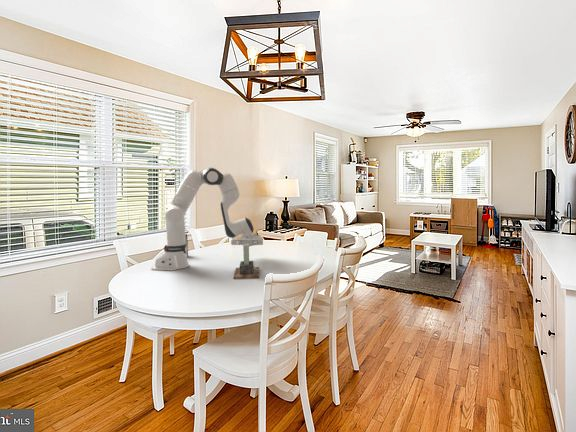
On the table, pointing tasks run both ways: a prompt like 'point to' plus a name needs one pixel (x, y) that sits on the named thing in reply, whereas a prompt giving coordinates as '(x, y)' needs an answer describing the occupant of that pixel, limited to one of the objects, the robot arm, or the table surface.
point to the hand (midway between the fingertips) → (246, 243)
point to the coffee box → (186, 243)
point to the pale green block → (246, 254)
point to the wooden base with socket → (246, 271)
